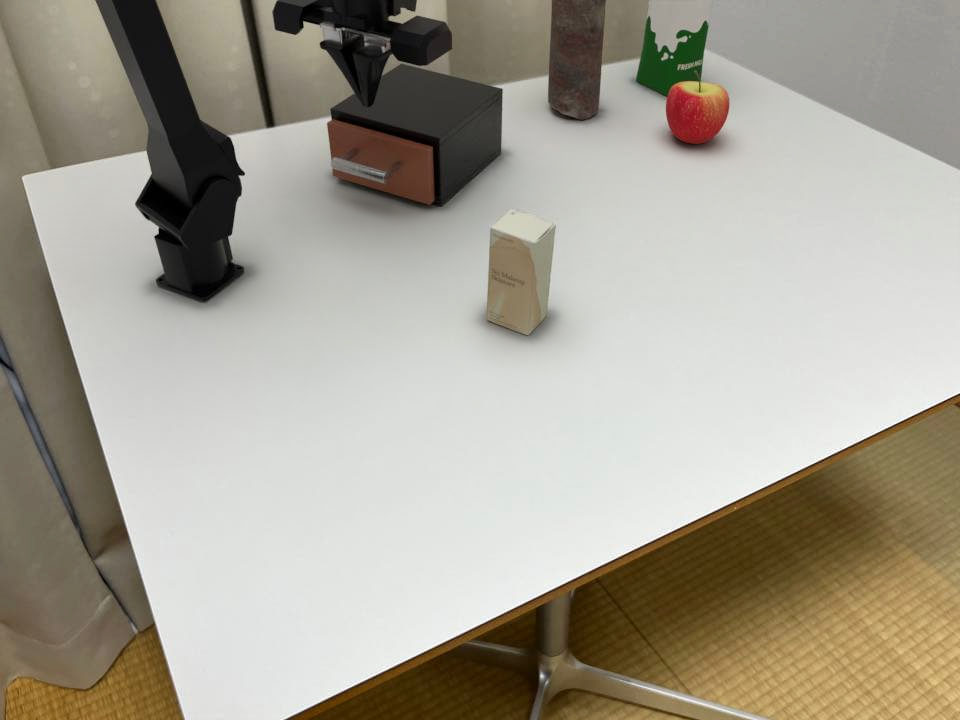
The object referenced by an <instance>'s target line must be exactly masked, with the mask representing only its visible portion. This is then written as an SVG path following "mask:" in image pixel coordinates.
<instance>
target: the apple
mask: <svg viewBox="0 0 960 720" xmlns="http://www.w3.org/2000/svg"><path fill="white" fill-rule="evenodd" d="M694 72H695V74H696V75H697V77H698V80H699V82H696V81H685V82H679V83H677V84H675V85H673V86H672V88H671V89H670V91H669V93H668V96H666V101H665V116H666V121H667V125H668V127H669V129H670V131H671V133H672V134H673V136H674V137H676V139H678V140H679V141H681V142H683V143H687V144H691V145H692V144H693V145H699V144H703V143H707V142H709V141H710V140H712V139H713V138H714V137H716V136H717V135H718V133H720V131H721V130H722V128H723V127H724V125H725V123H726V121H727V119H728V115H729V112H730V96H729V93H728V91H727V90H726V89H725V87H723V86H722V85H719V84H717V83H714V82H713V83H712V82H707V81H706V82H705V81H701V82H700V78H699V75H698V73H697V71H696V70H695V71H694Z"/></svg>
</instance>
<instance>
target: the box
mask: <svg viewBox="0 0 960 720" xmlns="http://www.w3.org/2000/svg"><path fill="white" fill-rule="evenodd" d="M556 228H557V223H556V222H554V221H551V220H548V219H545V218H543V217H539V216H537V215H535V214H531V213H527V212H524V211H520V210H518V209H515V208H512V207H511V208H509V209H508V210H507V211H506V212H504V214H502V215H501V216H500V217H499V218H498V219H497V220H496V221H495V222H494V223H493V224H491V226H490V228H489V229H490V231H489V249H488V250H489V252H488V273H487V274H488V276H487V295H486V296H487V297H486V298H487V299H486V316H485V317H486V320H487V321H489V322H491V323H494V324H496V325H499V326H501V327H503V328H507V329H509V330H512V331H515V332H517V333H519V334H522V335H525V336H529V335H531V333H533V331H535V330H536V328H537V327H538V326H539V325H540V324H541V323H542V322H543V321H544V319H545V318H546V317H547V316H548V308H549V307H548V306H549V298H550V297H549V296H550V285H551V275H552V266H553V257H554V245H555V235H556Z"/></svg>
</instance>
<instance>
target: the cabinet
mask: <svg viewBox="0 0 960 720" xmlns="http://www.w3.org/2000/svg"><path fill="white" fill-rule="evenodd" d="M503 94H504V89H503V88H501V87H497V86H493V85H490V84H485V83H482V82H477V81H473V80H470V79H465V78H461V77H457V76H452V75H449V74H445V73H441V72H437V71H433V70H428V69H426V68H425V69H424V68H421V67H417V66H413V65H410V64H405V63H399V64H398V65H396V66H395V67H393V68H392V69H391V70H389V71H387V72H385V73H384V74H382V76H381V80H380V83H379V87H378V90H377V94H376V97H375V101H374V104H373V105H372V106H370V107H369V108H368V107H365V106H362V104H361V103H360V101H359V99H358V98H357V96H356V95H355V93H354V92H353V93H352V94H351V95H349V96H348V97H346V98H345V99H343V100H342V101H340V102H338V103H337V104H335V105H333V106H332V107H330V118H331V119H330V120H332V119H334V120H338V121H341V122H345V123H346V120H349V121H353V122H357V123H360V124H364V125H368V126H371V127H375V128H378V129H382V130H386V131H389V132H393V133H397V134H400V135H404V136H408V137H411V138H415V139H418V140H422V141H426V142H429V143H433V147H434V177H435V191H434V198H435V200H434V201H433V202H432V203H431V204H430V205H434V206H437V207H443V206H444V205H445V204H446V203H448V202H449V201H450V200H451V199H452V198H454V197H455V196H456V194H457V193H459V192H460V191H461V190H462V189H464V187H465V186H467V185H468V184H469V183H470V182H471V181H472V180H474V178H476V177H477V176H478V175H479V174H480V173H481V172H482V171H483V170H485V169H486V168H487V167H489V165H490V164H491V163H493V162H494V161H495V160H496V159H497V158H498V157H499V156H501V154H502V141H503V140H502V139H503V138H502V135H503V134H502V133H503V132H502V131H503V98H504V97H503V96H504V95H503ZM345 119H346V120H345Z"/></svg>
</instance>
